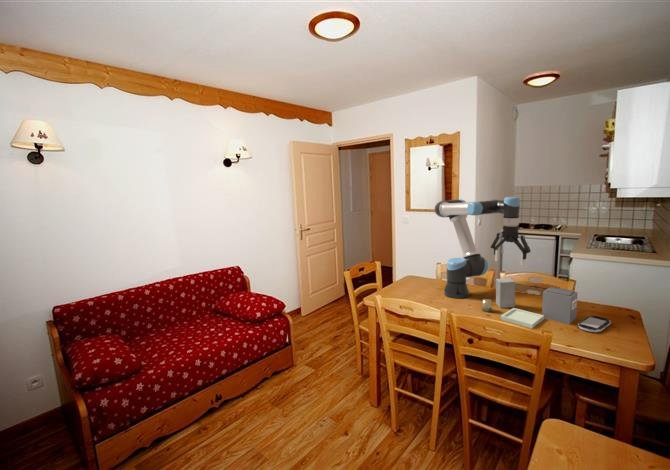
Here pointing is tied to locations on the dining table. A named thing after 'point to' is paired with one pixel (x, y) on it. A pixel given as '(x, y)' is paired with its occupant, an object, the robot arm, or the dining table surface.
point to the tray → (522, 317)
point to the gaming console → (594, 324)
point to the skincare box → (505, 293)
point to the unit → (559, 305)
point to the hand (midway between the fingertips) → (509, 262)
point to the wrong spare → (486, 305)
